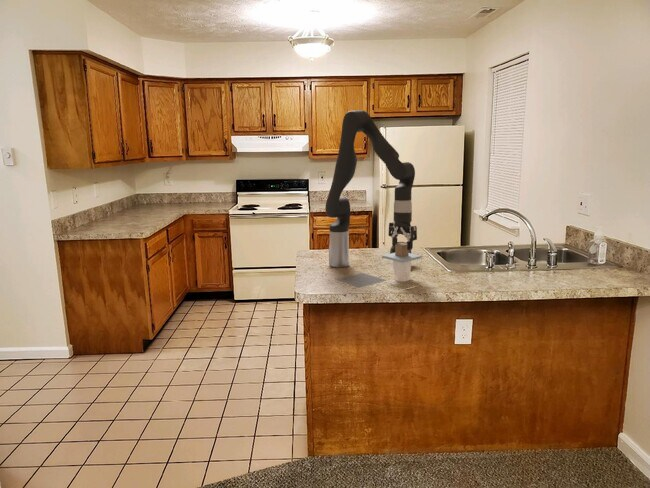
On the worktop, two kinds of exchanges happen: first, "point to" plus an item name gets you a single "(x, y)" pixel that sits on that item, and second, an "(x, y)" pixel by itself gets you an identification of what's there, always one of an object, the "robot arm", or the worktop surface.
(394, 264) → the white cup
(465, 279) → the worktop surface
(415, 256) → the lid
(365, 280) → the mat
